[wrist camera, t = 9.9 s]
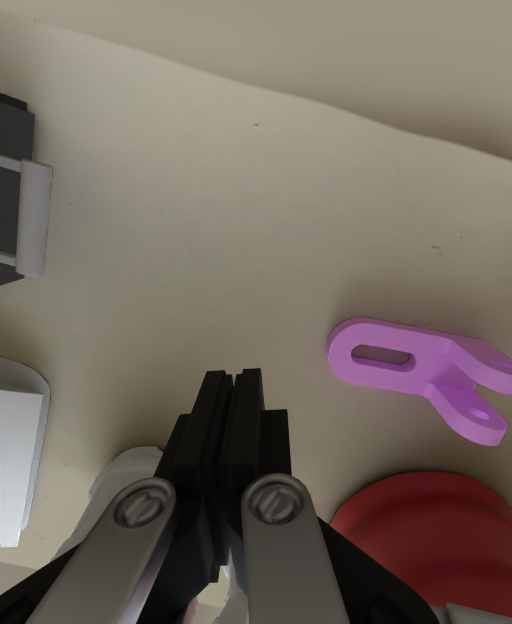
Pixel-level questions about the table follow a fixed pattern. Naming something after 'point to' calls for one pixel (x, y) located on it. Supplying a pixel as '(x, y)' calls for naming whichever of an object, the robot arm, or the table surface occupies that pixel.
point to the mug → (117, 477)
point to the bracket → (429, 371)
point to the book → (19, 443)
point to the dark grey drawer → (22, 198)
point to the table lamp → (436, 537)
